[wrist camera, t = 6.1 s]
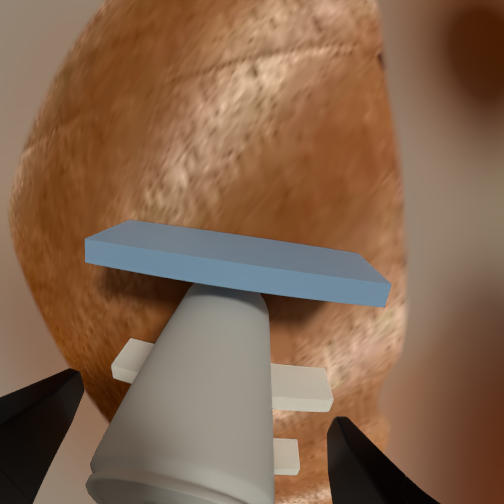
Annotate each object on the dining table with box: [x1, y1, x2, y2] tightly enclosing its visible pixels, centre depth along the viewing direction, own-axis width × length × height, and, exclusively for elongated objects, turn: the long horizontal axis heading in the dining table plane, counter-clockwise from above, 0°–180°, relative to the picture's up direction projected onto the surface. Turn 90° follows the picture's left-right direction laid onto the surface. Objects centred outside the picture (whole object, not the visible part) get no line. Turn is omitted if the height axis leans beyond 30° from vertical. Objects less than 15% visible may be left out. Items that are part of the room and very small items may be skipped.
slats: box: [85, 220, 391, 475], centre depth 15 cm, size 16×12×4 cm
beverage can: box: [86, 283, 274, 504], centre depth 10 cm, size 5×5×12 cm
